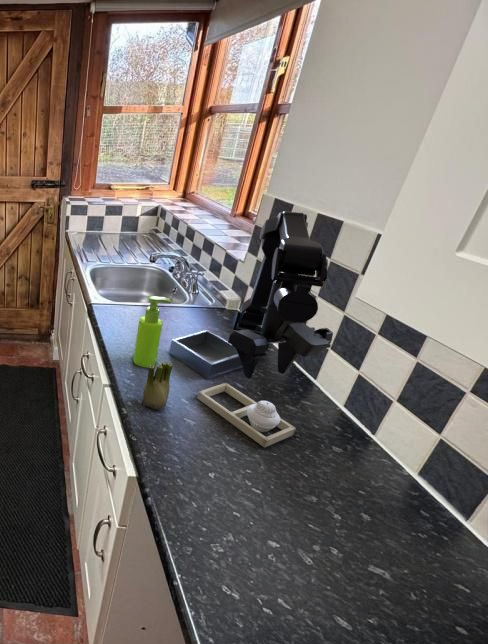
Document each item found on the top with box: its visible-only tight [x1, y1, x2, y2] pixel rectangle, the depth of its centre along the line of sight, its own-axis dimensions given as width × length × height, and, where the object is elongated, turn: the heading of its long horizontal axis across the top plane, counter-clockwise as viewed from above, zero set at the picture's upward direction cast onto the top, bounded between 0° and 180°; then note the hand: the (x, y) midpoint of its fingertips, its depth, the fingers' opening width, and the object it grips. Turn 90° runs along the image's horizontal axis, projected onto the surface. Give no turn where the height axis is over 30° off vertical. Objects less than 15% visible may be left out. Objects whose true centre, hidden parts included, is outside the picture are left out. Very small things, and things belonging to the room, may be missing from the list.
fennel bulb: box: [142, 361, 174, 411], centre depth 95 cm, size 6×5×12 cm
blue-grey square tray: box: [168, 329, 243, 380], centre depth 113 cm, size 14×14×5 cm
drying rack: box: [196, 382, 297, 448], centre depth 93 cm, size 9×17×2 cm, turn 22°
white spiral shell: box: [247, 400, 281, 433], centre depth 89 cm, size 6×6×7 cm
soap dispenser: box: [132, 295, 172, 369], centre depth 110 cm, size 6×7×20 cm
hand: (264, 375), depth 86 cm, fingers open, 9 cm apart
